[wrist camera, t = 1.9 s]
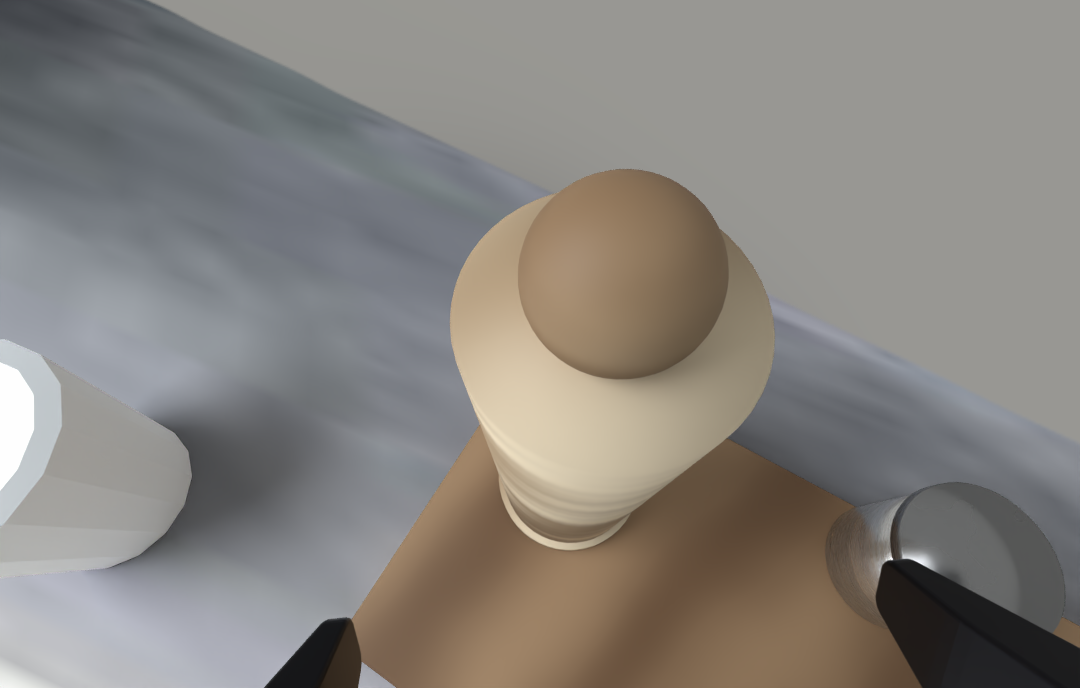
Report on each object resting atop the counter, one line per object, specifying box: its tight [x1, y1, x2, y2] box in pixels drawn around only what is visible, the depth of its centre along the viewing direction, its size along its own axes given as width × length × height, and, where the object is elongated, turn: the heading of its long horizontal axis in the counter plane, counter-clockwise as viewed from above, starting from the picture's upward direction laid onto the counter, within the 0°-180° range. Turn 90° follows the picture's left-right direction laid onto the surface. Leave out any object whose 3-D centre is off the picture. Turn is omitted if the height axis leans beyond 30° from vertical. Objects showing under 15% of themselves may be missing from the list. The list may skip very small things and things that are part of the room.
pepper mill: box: [450, 169, 775, 551], centre depth 12 cm, size 5×5×15 cm
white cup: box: [0, 340, 192, 578], centre depth 17 cm, size 7×7×7 cm
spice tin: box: [825, 482, 1065, 633], centre depth 16 cm, size 4×4×4 cm
